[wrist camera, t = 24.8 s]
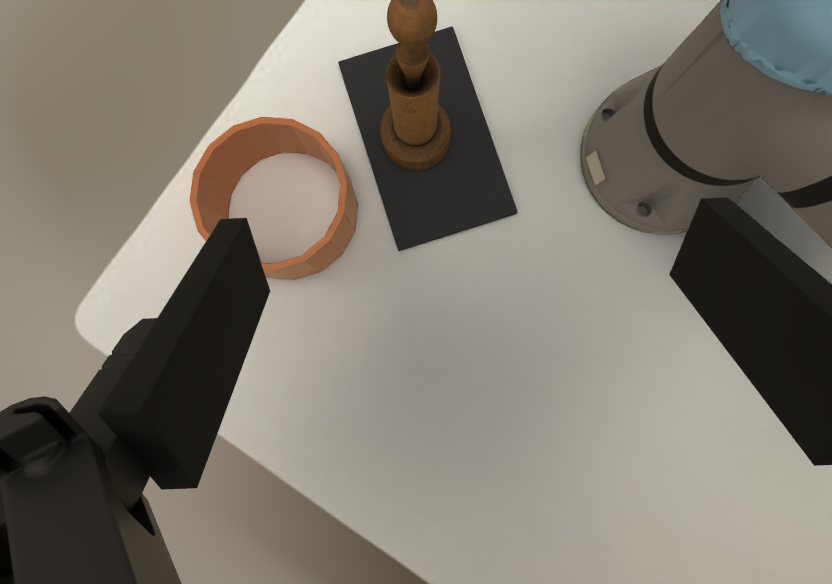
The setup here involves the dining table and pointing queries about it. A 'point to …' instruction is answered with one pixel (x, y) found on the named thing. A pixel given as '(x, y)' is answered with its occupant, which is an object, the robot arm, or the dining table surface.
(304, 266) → the copper pot
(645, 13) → the dining table surface
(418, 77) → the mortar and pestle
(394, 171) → the rubber mat
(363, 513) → the dining table surface
